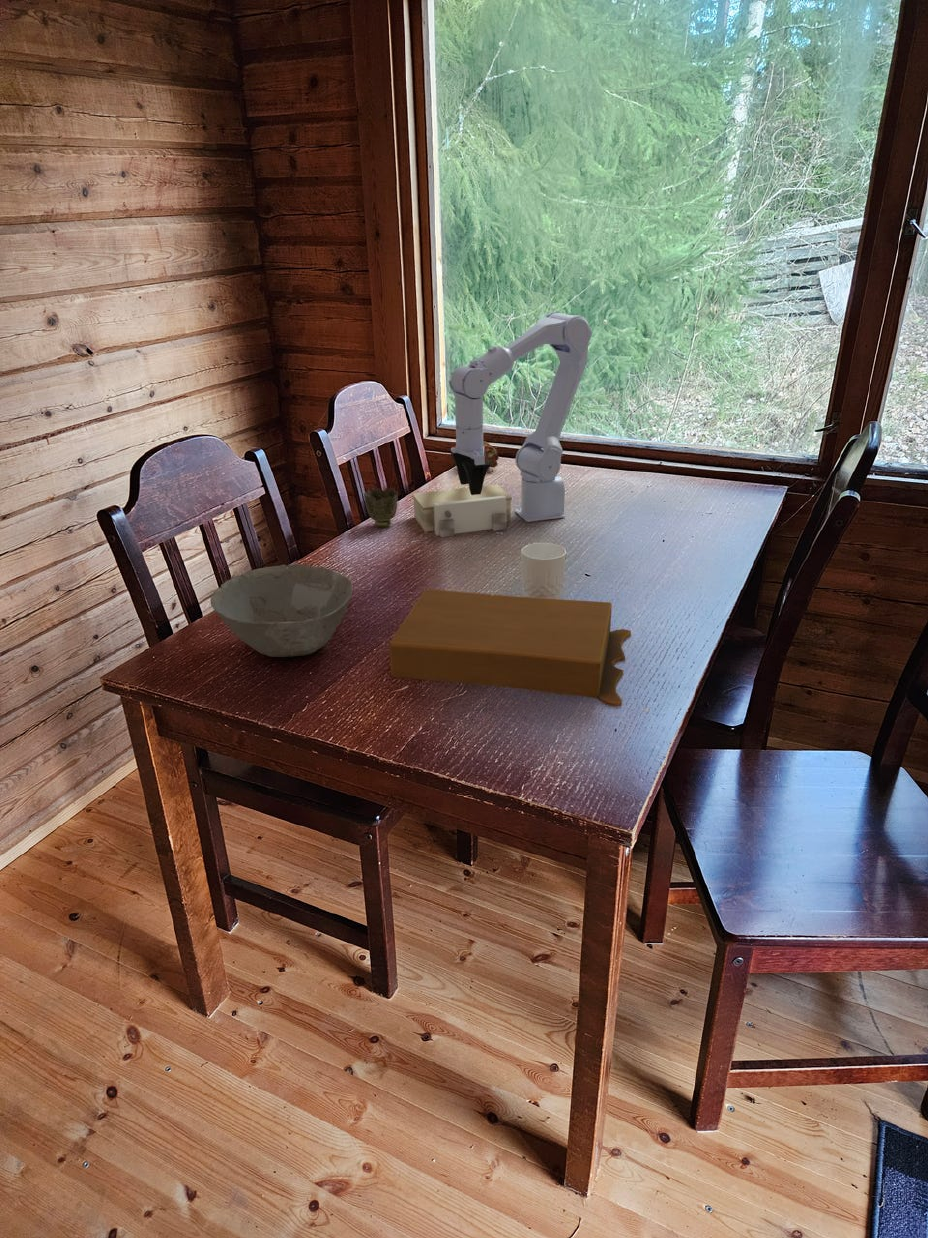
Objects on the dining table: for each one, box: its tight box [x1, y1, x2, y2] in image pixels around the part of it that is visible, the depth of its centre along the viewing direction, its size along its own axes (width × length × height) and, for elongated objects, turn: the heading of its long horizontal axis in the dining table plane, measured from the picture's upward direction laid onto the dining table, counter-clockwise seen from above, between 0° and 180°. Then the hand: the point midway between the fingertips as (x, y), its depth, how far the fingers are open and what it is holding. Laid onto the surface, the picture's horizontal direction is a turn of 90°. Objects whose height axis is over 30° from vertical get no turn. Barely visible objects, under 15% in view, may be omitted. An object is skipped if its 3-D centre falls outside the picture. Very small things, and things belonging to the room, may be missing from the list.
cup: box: [363, 487, 399, 529], centre depth 186 cm, size 8×7×8 cm
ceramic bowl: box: [210, 563, 354, 658], centre depth 136 cm, size 22×23×10 cm
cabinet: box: [411, 484, 513, 538], centre depth 188 cm, size 20×15×6 cm
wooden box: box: [388, 588, 632, 707], centre depth 132 cm, size 23×6×35 cm
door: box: [434, 495, 506, 536], centre depth 183 cm, size 16×3×7 cm, turn 106°
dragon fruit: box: [483, 440, 500, 469], centre depth 224 cm, size 8×8×12 cm
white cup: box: [520, 542, 567, 599], centre depth 149 cm, size 8×8×10 cm
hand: (470, 488), depth 180 cm, fingers open, 7 cm apart
